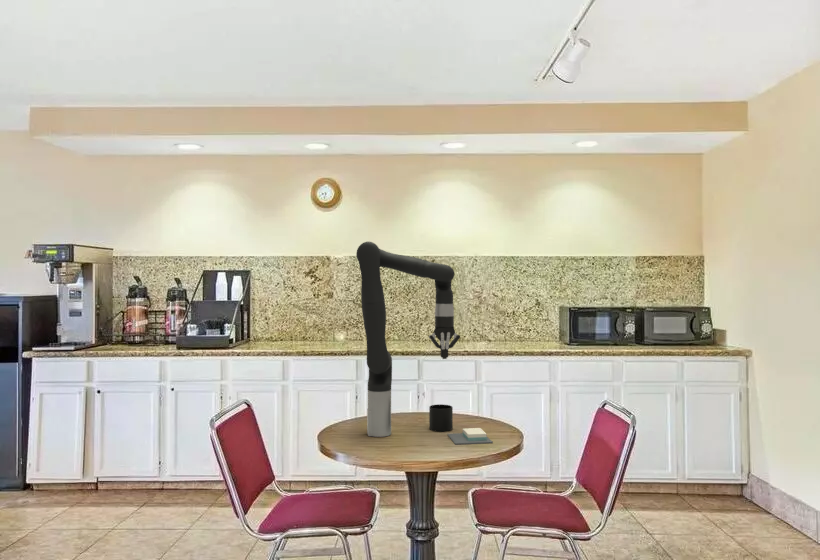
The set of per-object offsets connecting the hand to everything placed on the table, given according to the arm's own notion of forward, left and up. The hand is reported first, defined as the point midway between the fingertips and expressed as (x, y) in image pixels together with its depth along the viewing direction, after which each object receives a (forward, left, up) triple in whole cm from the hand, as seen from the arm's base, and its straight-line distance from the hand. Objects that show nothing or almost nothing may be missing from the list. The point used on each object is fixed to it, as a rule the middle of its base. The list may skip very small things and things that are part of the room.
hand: (444, 358), depth 220 cm
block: (+5, -12, -27) cm, 30 cm away
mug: (-1, +6, -29) cm, 30 cm away
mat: (+7, -12, -29) cm, 32 cm away
